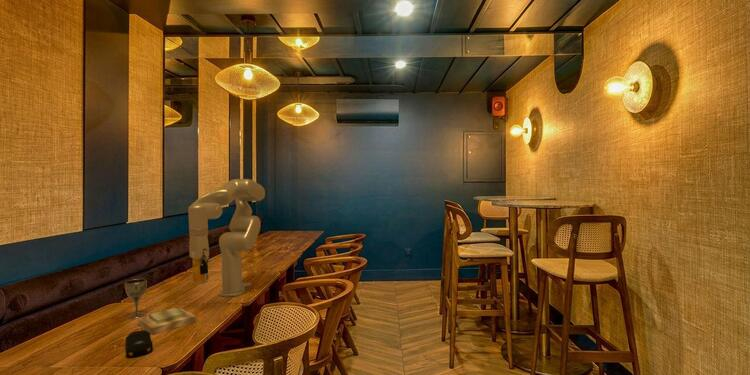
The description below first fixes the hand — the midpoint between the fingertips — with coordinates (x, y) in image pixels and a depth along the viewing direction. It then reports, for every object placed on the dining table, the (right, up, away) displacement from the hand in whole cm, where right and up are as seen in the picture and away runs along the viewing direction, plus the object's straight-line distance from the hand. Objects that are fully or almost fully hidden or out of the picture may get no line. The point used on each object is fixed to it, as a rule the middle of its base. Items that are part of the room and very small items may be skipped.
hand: (200, 272), depth 162 cm
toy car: (-4, -18, -36) cm, 41 cm away
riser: (-7, -17, -15) cm, 24 cm away
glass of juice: (0, -5, 0) cm, 5 cm away
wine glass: (-26, -18, -4) cm, 32 cm away
